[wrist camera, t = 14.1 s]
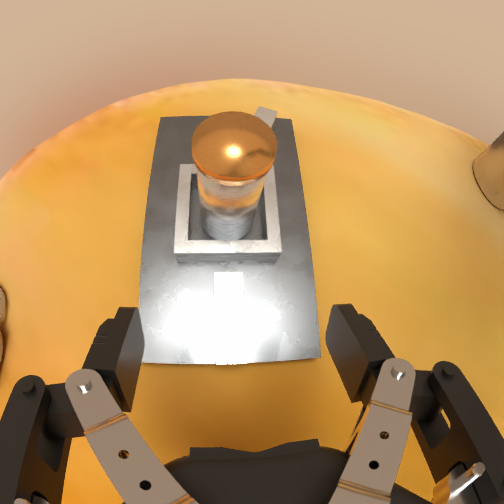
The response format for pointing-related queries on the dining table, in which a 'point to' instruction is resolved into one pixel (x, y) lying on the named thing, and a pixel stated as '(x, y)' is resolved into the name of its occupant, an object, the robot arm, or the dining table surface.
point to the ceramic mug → (0, 307)
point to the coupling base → (225, 263)
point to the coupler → (231, 170)
